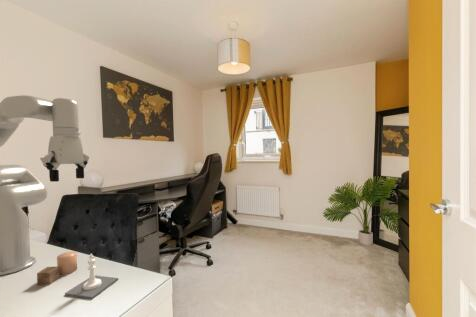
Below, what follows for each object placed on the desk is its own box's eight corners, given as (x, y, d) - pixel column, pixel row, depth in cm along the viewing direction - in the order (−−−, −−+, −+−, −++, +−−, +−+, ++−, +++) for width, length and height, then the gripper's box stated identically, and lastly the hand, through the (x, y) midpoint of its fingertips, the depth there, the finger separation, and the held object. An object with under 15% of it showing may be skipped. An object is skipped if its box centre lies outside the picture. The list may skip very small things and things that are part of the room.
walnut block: (37, 285, 72) (36, 273, 72) (47, 278, 76) (47, 267, 76) (50, 284, 72) (49, 272, 72) (59, 277, 76) (59, 266, 76)
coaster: (64, 295, 66) (64, 293, 66) (93, 276, 76) (93, 275, 76) (92, 299, 64) (92, 297, 64) (118, 279, 74) (118, 278, 74)
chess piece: (91, 290, 67) (90, 258, 67) (79, 288, 68) (77, 257, 68) (105, 281, 72) (104, 251, 72) (92, 279, 73) (91, 250, 73)
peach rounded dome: (53, 274, 78) (53, 257, 78) (69, 266, 84) (68, 250, 84) (65, 276, 77) (64, 259, 77) (80, 268, 82) (80, 252, 82)
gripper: (79, 135, 90) (81, 177, 91) (31, 131, 73) (33, 182, 74) (94, 134, 89) (96, 177, 89) (49, 130, 72) (51, 182, 72)
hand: (68, 179), depth 81 cm, fingers open, 9 cm apart
